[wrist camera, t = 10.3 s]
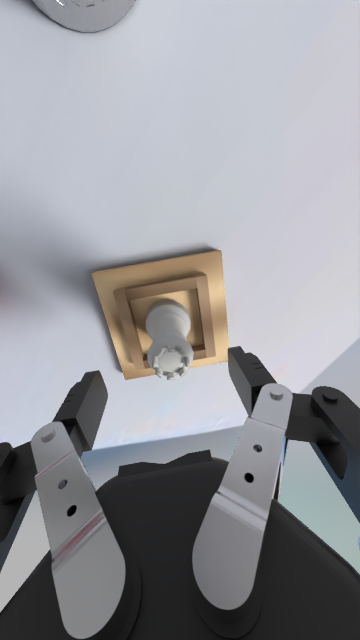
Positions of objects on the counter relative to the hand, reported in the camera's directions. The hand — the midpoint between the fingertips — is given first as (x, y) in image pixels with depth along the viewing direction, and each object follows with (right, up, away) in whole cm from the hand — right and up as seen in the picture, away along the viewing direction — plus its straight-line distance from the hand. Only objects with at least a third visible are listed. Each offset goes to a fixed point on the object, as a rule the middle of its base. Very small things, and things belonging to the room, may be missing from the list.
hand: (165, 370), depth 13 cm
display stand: (0, +3, +9) cm, 10 cm away
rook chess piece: (0, +3, +8) cm, 9 cm away
